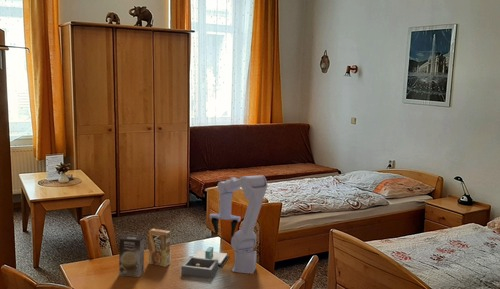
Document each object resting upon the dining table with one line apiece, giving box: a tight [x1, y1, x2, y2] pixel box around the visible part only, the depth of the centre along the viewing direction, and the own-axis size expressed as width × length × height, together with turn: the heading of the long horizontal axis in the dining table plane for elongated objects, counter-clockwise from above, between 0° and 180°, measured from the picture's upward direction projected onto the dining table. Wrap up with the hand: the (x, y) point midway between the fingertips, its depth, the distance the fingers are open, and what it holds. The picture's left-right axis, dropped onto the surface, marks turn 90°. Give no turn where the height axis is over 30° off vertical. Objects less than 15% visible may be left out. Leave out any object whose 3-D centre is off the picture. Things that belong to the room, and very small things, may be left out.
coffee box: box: [118, 233, 145, 278], centre depth 197 cm, size 9×6×16 cm
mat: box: [218, 255, 230, 268], centre depth 216 cm, size 16×13×1 cm
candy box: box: [148, 228, 171, 267], centre depth 208 cm, size 9×4×15 cm, turn 70°
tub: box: [180, 256, 219, 280], centre depth 202 cm, size 13×11×4 cm
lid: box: [192, 246, 228, 265], centre depth 216 cm, size 14×12×5 cm
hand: (224, 234), depth 221 cm, fingers open, 7 cm apart
